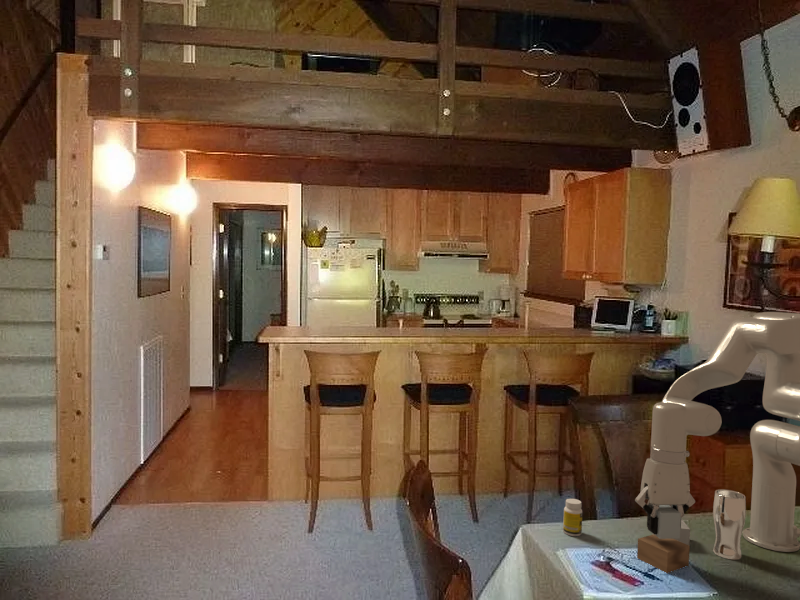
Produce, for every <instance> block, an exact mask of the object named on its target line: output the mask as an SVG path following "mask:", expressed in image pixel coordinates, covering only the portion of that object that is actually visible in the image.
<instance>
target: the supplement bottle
mask: <svg viewBox="0 0 800 600" xmlns="http://www.w3.org/2000/svg"><path fill="white" fill-rule="evenodd" d="M582 529H583V509H582V501H581V500H579V499H577V498H566V499H565V506H564V508H563V525H562V532H563V533H564V534H565V535H568V536H571V537H580V536H582Z"/></svg>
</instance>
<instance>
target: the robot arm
mask: <svg viewBox="0 0 800 600" xmlns="http://www.w3.org/2000/svg"><path fill="white" fill-rule="evenodd" d="M758 354H765V357H766V368H765V377H764V385H763V391H762V407H763V409H764V410H765V411H766V412H768V413H769V414H772V415H775V416H778V417H782V418H787V419H790V420H791V419H792V420H795V421H799V422H800V313H796V312H794V313H793V312H792V313H791V312H781V311H763V312H758V313H756V314H754V315H753V316H752V317H740V318H737V319H735V320H733V321H732V322H731V323H730V324H729V326H728V327H727V328H726V330H725V332H724V334H723V335H722V336H721V338H720V339H719V341H718V343H716V345H715V347H714V349H713V350H712V352H711V353H710V354H709V357H708V358H707V360H706V361H705V362H703V363H702V364H699V365H697V366H696V367H694V368H692V369H691V370H689V371H687V372H686V373H683V375H681V376H680V377H678V378H676V380H675V381H674V382H673V383H672V384H671V385H670V387H669V389H668V390H667V392H666V393H665V395H664V397H663V398H662V400H661V401H660V402H657V403H655V404H654V405H653V406H652V415H651V416H652V418H651V420H652V421H651V432H650V433H651V435H650V437H651V438H650V455H649V456H650V457H649V458H646V461H645V463H644V467H643V472H642V476H641V484H640V493H639V494H638V495H637V496H636V497H635V499H634V502H635V503H637V505H638V506H640V507H641V508H642V509H643V511H644V512H645V513H646V514H647V516H646V527H647V531H649V532H650V531H651V532H652V533H653V534H657V530H658V518H657V517H656V515H657V512H658V508H659V505H669V506H671V507H672V508H674V509H676V510H677V511H679V512H680V513H681V518H683V517H684V516H685V513H686V512H687V511H689V509H690V507H692V506H693V505H694V504H695V503H696V500H695V498H694V497H693V496H692V494H691V493H690V492H691V491H690V489H691V488H690V486H691V485H690V474H689V473H690V472H689V468H688V467H689V466H688V463H687V462H686V458H688V457H690V451H689V450H687V436H688V435H691V436H692V435H693V436H701V437H708V436H713V435H715V434H716V433H717V432H718V431H719V430H720V428H721V426H722V416H721V414H720V411H718V410H717V409H716V408H715V407H713V406H712V405H708V404H706V403H703V402H698V401H694V398H695V397H697V396H698V395H700V394H701V393H703V392H706V391H708V390H711V389H712V390H713V389H717V388H721V387H724V386H729V385H733V384H736V383H738V382H740V381H742V379H743V378H744V375H745V374H746V372H747V370H748V369H749V367H750V365H751V364H752V362H753V360H754V359H755V358H756V356H757V355H758ZM749 438H750V439H749V442H750V447H751V452H752V465H753V466H752V480H751V481H752V483H751V485H752V487H751V499H750V500H751V503H750V520H749V521H750V524H749V527H746V528H743V531H742V536H743V537H744V539H745V540H746V541H748V542H749V543H751V544H753V545H756V546H758V547H761V548H764V549H768V550H772V551H776V552H784V553H792V552H797V551H799V550H800V541H799V540H798V538H799V537H800V528H798V527H797V525H795V511H796V508H795V507H796V492H797V490H796V489H797V475H796V472H795V470H794V467H793V465H796V466H799V467H800V425H796V424H791V423H787V422H784V421H779V420H775V419H762V420H759V421H757V422H756V423H754V425H752V427H751V430H750V432H749ZM646 500H648V501H647V503H646V502H645V501H646ZM680 528H681V523H680ZM651 532H650V533H651ZM652 533H651V534H652ZM653 534H652V535H653Z"/></svg>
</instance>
